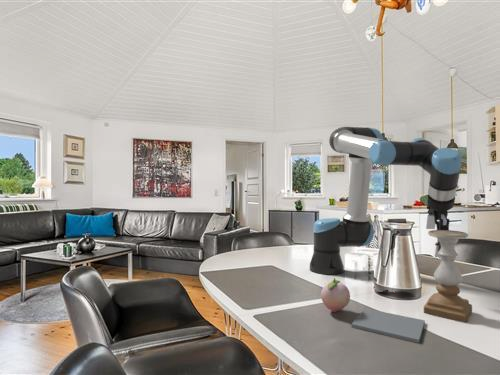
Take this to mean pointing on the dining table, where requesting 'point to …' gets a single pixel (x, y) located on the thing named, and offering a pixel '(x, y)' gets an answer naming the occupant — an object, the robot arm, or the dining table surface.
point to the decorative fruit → (335, 295)
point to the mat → (390, 324)
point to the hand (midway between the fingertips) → (434, 241)
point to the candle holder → (448, 280)
